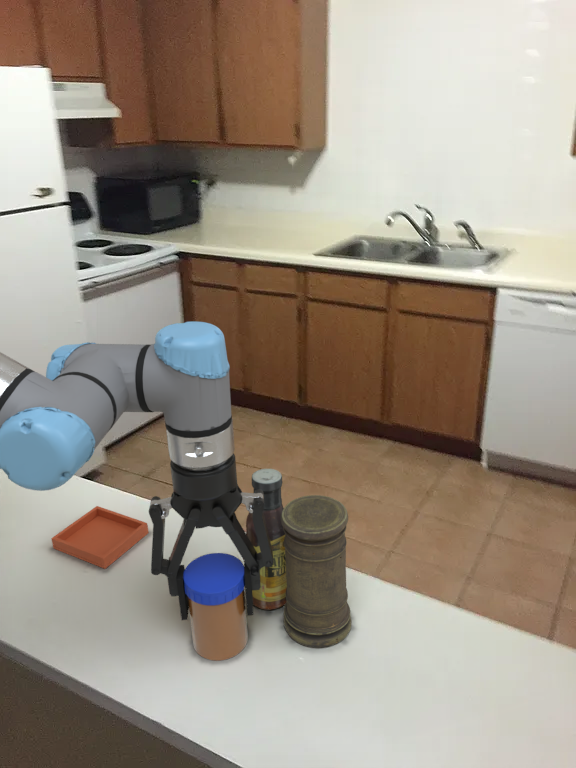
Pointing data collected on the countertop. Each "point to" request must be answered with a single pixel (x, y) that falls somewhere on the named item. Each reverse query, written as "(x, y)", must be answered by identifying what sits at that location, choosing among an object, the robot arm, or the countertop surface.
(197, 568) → the lid
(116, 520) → the tray
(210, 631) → the jar
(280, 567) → the sauce bottle
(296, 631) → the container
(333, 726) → the countertop surface
